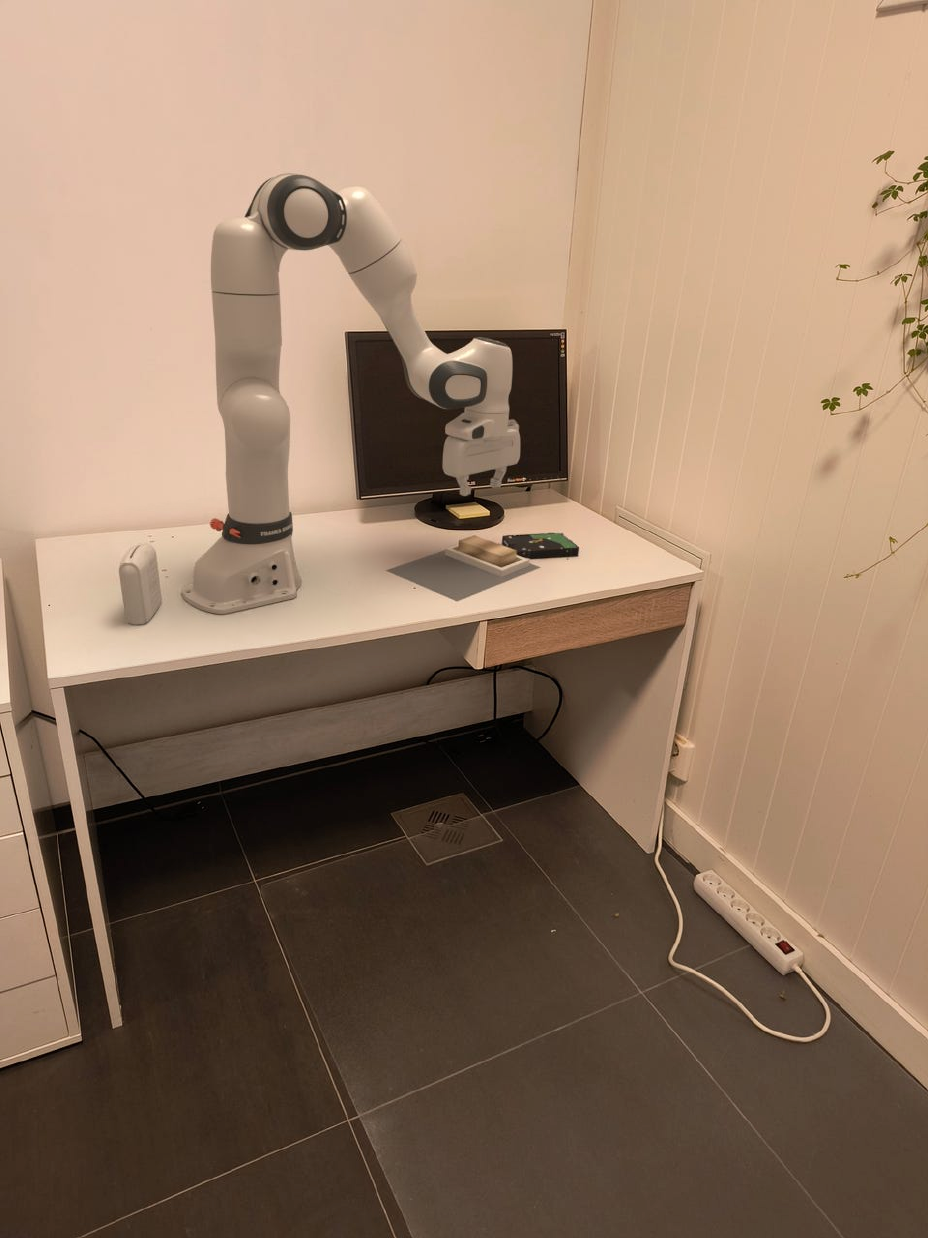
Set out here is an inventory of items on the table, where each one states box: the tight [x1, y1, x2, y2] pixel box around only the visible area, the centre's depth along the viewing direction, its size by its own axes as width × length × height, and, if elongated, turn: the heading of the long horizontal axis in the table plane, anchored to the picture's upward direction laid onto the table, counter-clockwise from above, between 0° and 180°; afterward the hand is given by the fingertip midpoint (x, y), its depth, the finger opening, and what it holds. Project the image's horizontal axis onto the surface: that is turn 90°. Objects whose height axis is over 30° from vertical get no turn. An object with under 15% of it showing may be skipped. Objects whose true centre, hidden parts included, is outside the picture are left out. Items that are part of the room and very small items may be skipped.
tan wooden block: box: [458, 535, 517, 568], centre depth 172 cm, size 12×5×4 cm, turn 47°
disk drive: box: [501, 532, 580, 560], centre depth 181 cm, size 10×3×15 cm
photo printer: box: [118, 542, 163, 626], centre depth 140 cm, size 10×4×12 cm, turn 3°
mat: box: [385, 543, 541, 602], centre depth 167 cm, size 26×20×2 cm
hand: (480, 491), depth 166 cm, fingers open, 8 cm apart
